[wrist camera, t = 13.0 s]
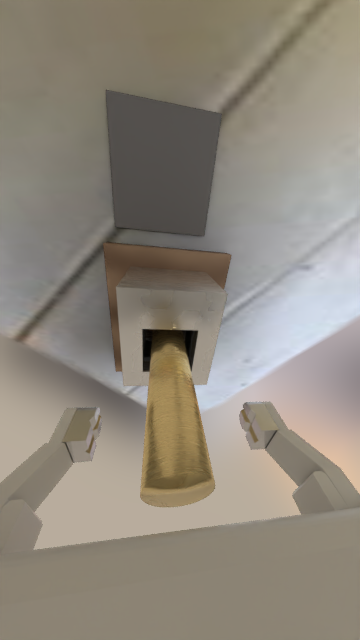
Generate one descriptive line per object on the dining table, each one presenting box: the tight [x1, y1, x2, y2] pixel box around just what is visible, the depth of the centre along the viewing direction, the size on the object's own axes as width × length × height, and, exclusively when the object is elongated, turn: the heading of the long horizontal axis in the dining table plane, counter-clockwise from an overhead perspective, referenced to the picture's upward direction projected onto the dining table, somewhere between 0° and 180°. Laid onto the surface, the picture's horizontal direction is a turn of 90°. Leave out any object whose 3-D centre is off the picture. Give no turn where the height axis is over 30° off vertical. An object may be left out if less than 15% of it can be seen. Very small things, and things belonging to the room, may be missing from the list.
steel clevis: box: [116, 267, 228, 386], centre depth 19 cm, size 14×8×7 cm, turn 175°
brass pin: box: [140, 329, 215, 507], centre depth 14 cm, size 3×3×16 cm
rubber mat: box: [106, 90, 222, 236], centre depth 16 cm, size 9×9×1 cm
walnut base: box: [103, 242, 231, 371], centre depth 22 cm, size 16×13×2 cm
